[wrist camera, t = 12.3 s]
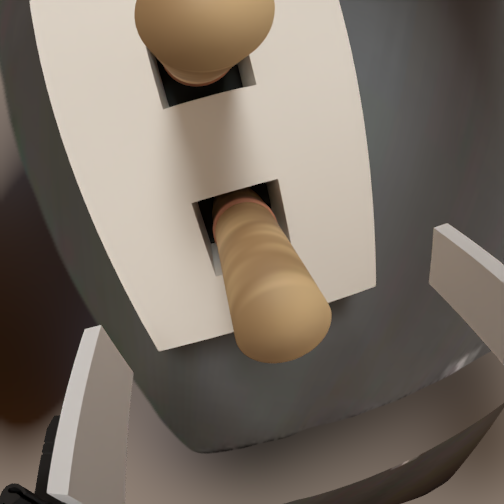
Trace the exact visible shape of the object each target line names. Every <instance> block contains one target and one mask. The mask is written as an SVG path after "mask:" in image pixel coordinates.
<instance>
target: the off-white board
mask: <svg viewBox="0 0 504 504" xmlns="http://www.w3.org/2000/svg"><path fill="white" fill-rule="evenodd" d="M136 1H137V0H31V1H30V7H31V14H32V20H33V26H34V32H35V37H36V42H37V47H38V52H39V57H40V61H41V66H42V70H43V74H44V78H45V82H46V86H47V90H48V94H49V97H50V101H51V105H52V108H53V111H54V115H55V118H56V122H57V125H58V128H59V131H60V134H61V137H62V141H63V144H64V147H65V149H66V152H67V155H68V158H69V161H70V164H71V167H72V169H73V172H74V175H75V178H76V180H77V183H78V185H79V188H80V191H81V193H82V196H83V198H84V201H85V203H86V206H87V208H88V211H89V213H90V215H91V218H92V220H93V222H94V225H95V227H96V229H97V232H98V234H99V236H100V238H101V241H102V243H103V245H104V247H105V250H106V252H107V254H108V256H109V258H110V260H111V262H112V264H113V266H114V269H115V271H116V273H117V275H118V277H119V279H120V281H121V283H122V285H123V287H124V289H125V291H126V293H127V295H128V296H129V298H130V300H131V302H132V304H133V306H134V308H135V310H136V312H137V313H138V315H139V317H140V319H141V321H142V323H143V324H144V326H145V328H146V330H147V332H148V333H149V335H150V337H151V339H152V340H153V342H154V344H155V346H156V347H157V349H158V351H162V350H167V349H171V348H175V347H179V346H183V345H187V344H191V343H194V342H198V341H202V340H206V339H210V338H213V337H217V336H221V335H224V334H228V333H232V332H234V330H233V325H232V320H231V315H230V310H229V305H228V300H227V295H226V290H225V284H224V279H223V274H222V269H221V263H220V258H219V252H218V247H217V245H216V243H212V244H211V242H210V239H209V236H208V233H207V230H206V227H205V224H204V221H203V217H202V214H201V211H200V208H199V205H198V202H197V201H200V200H204V199H207V198H210V197H214V196H217V195H221V194H224V193H228V192H231V191H235V190H238V189H242V188H245V187H249V186H253V185H256V184H260V183H264V182H266V186H267V190H268V195H269V199H270V204H271V208H272V212H273V213H274V215H275V217H276V220H277V223H278V224H279V226H280V228H281V229H282V231H283V232H284V234H285V235H286V237H287V238H288V240H289V242H290V243H291V245H292V246H293V248H294V249H295V251H296V253H297V254H298V256H299V257H300V259H301V260H302V262H303V264H304V265H305V267H306V268H307V270H308V272H309V273H310V275H311V276H312V278H313V280H314V281H315V283H316V284H317V286H318V288H319V289H320V291H321V292H322V294H323V296H324V297H325V299H326V301H327V302H328V303H329V302H332V301H335V300H338V299H341V298H344V297H347V296H350V295H353V294H355V293H358V292H361V291H364V290H367V289H369V288H372V287H375V286H376V260H375V232H374V214H373V199H372V187H371V176H370V166H369V157H368V148H367V140H366V133H365V125H364V118H363V112H362V106H361V99H360V93H359V88H358V82H357V77H356V72H355V67H354V62H353V57H352V52H351V48H350V43H349V39H348V35H347V30H346V26H345V22H344V18H343V14H342V11H341V7H340V3H339V0H274V3H275V14H274V20H273V24H272V27H271V29H270V31H269V33H268V35H267V37H266V38H265V40H264V41H263V42H262V43H261V45H260V46H259V47H258V48H257V49H256V50H255V51H253V52H252V53H251V54H249V55H248V56H247V57H245V58H244V59H243V60H241V61H240V62H238V63H237V65H238V69H239V73H240V77H241V81H242V85H243V87H242V88H238V89H234V90H230V91H225V92H221V93H217V94H214V95H210V96H206V97H202V98H199V99H195V100H192V101H188V102H185V103H181V104H178V105H175V106H172V107H169V104H168V101H167V97H166V94H165V90H164V86H163V83H162V79H161V75H160V72H159V68H158V64H157V61H156V57H155V56H154V54H153V53H152V52H151V51H150V50H149V49H148V48H147V47H146V46H145V44H144V43H143V41H142V40H141V38H140V36H139V34H138V31H137V29H136V25H135V18H134V11H135V4H136Z"/></svg>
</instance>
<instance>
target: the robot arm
mask: <svg viewBox="0 0 504 504" xmlns="http://www.w3.org/2000/svg"><path fill="white" fill-rule="evenodd" d="M429 284H430V285H431V286H432V287H433V288H434V289H435V290H436V291H437V292H438V293H439V294H440V295H441V296H442V297H443V298H444V299H445V300H446V301H447V302H448V303H449V304H450V305H451V307H452V308H453V309H454V310H455V311H456V312H457V313H458V314H459V315H460V316H461V317H462V318H463V319H464V320H465V321H466V323H467V324H468V325H469V326H470V327H471V328H472V329H473V330H474V331H475V332H476V334H477V335H478V336H479V337H480V338H481V339H482V340H483V342H484V343H485V344H486V345H487V346H488V347H489V348H490V350H491V351H492V352H493V353H494V354H495V355H496V356H497V358H498V359H499V360H500V361H501V363H502V364H503V365H504V265H503V264H502V263H501V262H500V261H498V260H497V259H496V258H495V257H493V256H492V255H491V254H489V253H488V252H487V251H485V250H484V249H483V248H481V247H480V246H479V245H477V244H476V243H475V242H473V241H472V240H471V239H469V238H468V237H466V236H465V235H464V234H462V233H461V232H459V231H458V230H457V229H455V228H454V227H452V226H451V225H449V224H448V223H446V224H443V225H440V226H437V227H434V230H433V245H432V257H431V267H430V277H429ZM132 381H133V371H132V370H131V369H130V367H129V366H128V364H127V363H126V362H125V360H124V359H123V357H122V356H121V354H120V353H119V351H118V350H117V348H116V347H115V345H114V344H113V342H112V341H111V339H110V338H109V336H108V335H107V333H106V332H105V330H104V329H103V327H102V325H100V326H96V327H92V328H88V329H85V330H84V333H83V336H82V339H81V343H80V346H79V349H78V352H77V356H76V359H75V362H74V366H73V370H72V373H71V376H70V380H69V384H68V388H67V392H66V395H65V399H64V403H63V407H62V412H61V415H60V416H54V417H53V419H52V421H51V423H50V424H49V426H48V428H47V431H46V436H45V440H44V442H45V444H44V445H43V450H42V453H43V455H41V460H40V465H39V471H38V478H37V483H36V489H35V494H34V493H32V492H30V491H29V490H27V489H26V488H24V487H22V486H21V485H19V484H10V485H8V486H6V487H5V489H4V490H3V491H2V493H1V496H0V504H125V485H126V484H125V483H126V456H127V439H128V424H129V412H130V411H129V410H130V401H131V390H132Z"/></svg>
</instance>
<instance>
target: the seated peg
mask: <svg viewBox="0 0 504 504" xmlns="http://www.w3.org/2000/svg"><path fill="white" fill-rule="evenodd" d="M274 14H275V3H274V0H137V1H136V4H135V11H134V18H135V25H136V29H137V31H138V34H139V36H140V38H141V40H142V41H143V43H144V44H145V46H146V47H147V48H148V49H149V50H150V51H151V52H152V53H153V54H154V56H155V57H156V58H157V59H158V60H159V61H160V62H161V63H162V64H163V66H164V68H165V70H166V71H167V73H168V74H169V75H170V76H171V77H172V78H173V79H175V80H176V81H178V82H179V83H182V84H184V85H188V86H205V85H209V84H212V83H214V82H216V81H217V80H219V79H221V78H222V77H223V76H224V75H225V74H226V73H227V72H228V71H229V70H230V68H232V67H233V66H234V65H236V64H237V63H238V62H240V61H241V60H243V59H244V58H245V57H247V56H248V55H249V54H251V53H252V52H253V51H255V50H256V49H257V48H258V47H259V46H260V45H261V43H262V42H263V41H264V40H265V38H266V37H267V35H268V33H269V31H270V29H271V27H272V24H273V20H274Z"/></svg>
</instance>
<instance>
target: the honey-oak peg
mask: <svg viewBox="0 0 504 504" xmlns="http://www.w3.org/2000/svg"><path fill="white" fill-rule="evenodd" d="M212 219H213V235H214V240H215V242H216V245H217V247H218V252H219V258H220V263H221V269H222V274H223V279H224V284H225V290H226V295H227V300H228V305H229V310H230V315H231V320H232V325H233V330H234V335H235V339H236V343H237V345H238V347H239V348H240V350H241V351H242V352H243V353H244V354H245V355H246V356H248V357H249V358H251V359H253V360H256V361H259V362H264V363H282V362H287V361H291V360H294V359H296V358H299V357H301V356H303V355H305V354H307V353H308V352H310V351H311V350H312V349H314V348H315V347H316V346H317V345H318V344H319V343H320V342H321V341H322V340H323V338H324V337H325V335H326V334H327V332H328V330H329V327H330V324H331V309H330V306H329V304H328V302H327V301H326V299H325V297H324V296H323V294H322V292H321V291H320V289H319V288H318V286H317V284H316V283H315V281H314V280H313V278H312V276H311V275H310V273H309V272H308V270H307V268H306V267H305V265H304V264H303V262H302V260H301V259H300V257H299V256H298V254H297V253H296V251H295V249H294V248H293V246H292V245H291V243H290V242H289V240H288V238H287V237H286V235H285V234H284V232H283V231H282V229H281V228H280V226H279V224H278V223H277V220H276V217H275V215H274V213H273V212H272V210H271V209H270V208H269V206H268V205H267V204H265V203H264V201H263V200H262V198H261V197H260V196H259V195H258V194H257V193H256V192H254V191H253V190H252V189H251V188H250V187H245V188H242V189H238V190H235V191H231V192H228V193H224V194H221V195H217V196H215V197H214V200H213V209H212Z"/></svg>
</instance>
